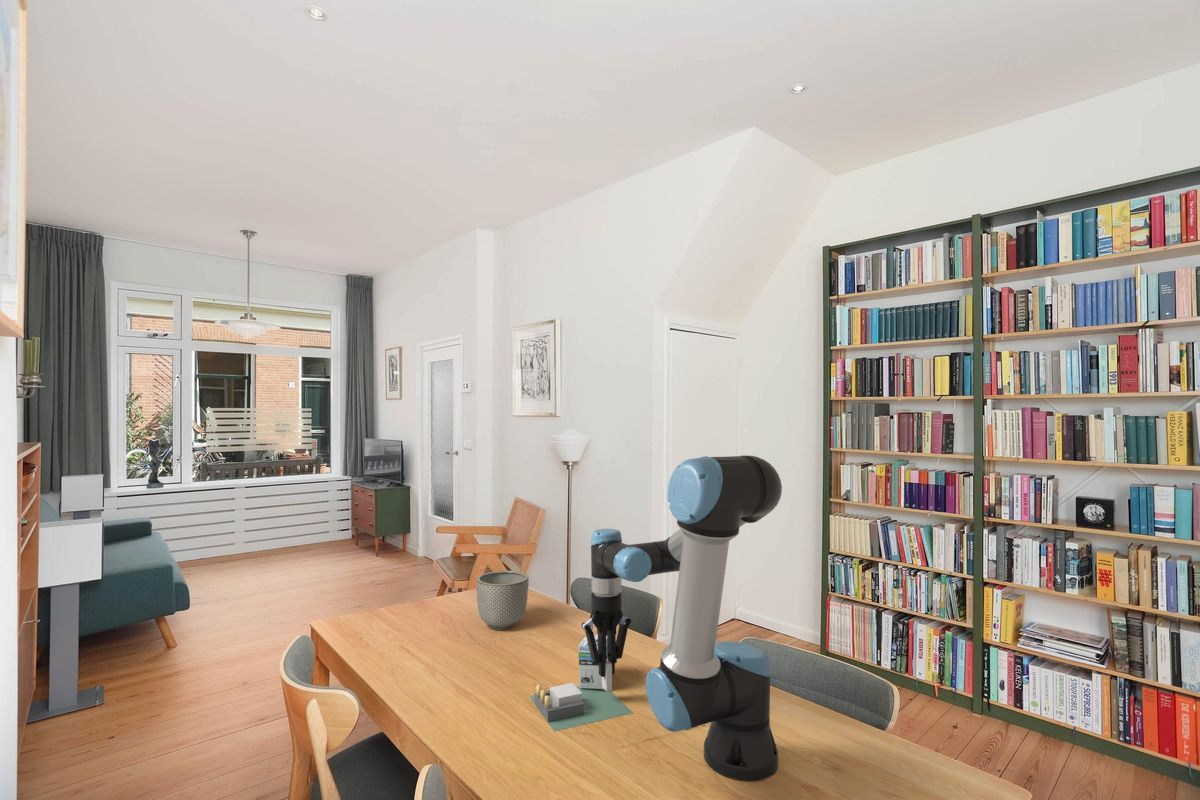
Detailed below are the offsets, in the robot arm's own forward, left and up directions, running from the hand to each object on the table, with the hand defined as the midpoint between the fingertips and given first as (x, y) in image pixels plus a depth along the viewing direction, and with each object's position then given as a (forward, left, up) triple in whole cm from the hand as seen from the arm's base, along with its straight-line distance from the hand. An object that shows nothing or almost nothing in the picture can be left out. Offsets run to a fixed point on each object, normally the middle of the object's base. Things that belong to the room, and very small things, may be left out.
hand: (606, 688), depth 151 cm
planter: (+62, +9, -4) cm, 62 cm away
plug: (+1, +11, -3) cm, 11 cm away
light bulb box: (+10, -2, -3) cm, 11 cm away
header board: (+1, +7, -3) cm, 8 cm away
